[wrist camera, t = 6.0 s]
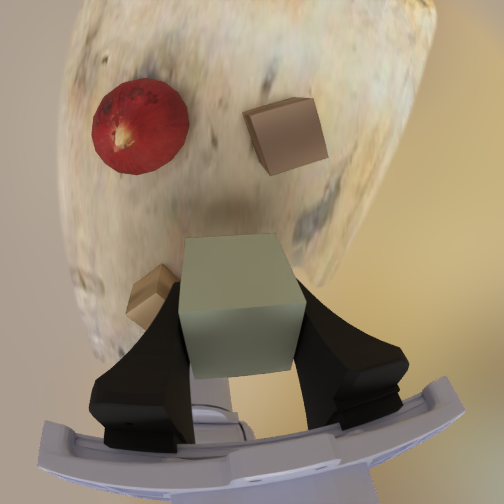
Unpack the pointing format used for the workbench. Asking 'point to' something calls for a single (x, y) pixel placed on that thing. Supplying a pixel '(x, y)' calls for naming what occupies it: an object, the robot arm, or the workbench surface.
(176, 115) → the onion
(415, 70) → the workbench surface
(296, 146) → the walnut block
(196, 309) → the sage block
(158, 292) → the oak block
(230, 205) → the workbench surface
